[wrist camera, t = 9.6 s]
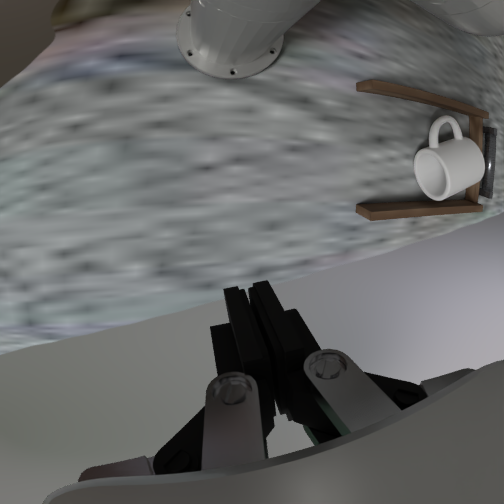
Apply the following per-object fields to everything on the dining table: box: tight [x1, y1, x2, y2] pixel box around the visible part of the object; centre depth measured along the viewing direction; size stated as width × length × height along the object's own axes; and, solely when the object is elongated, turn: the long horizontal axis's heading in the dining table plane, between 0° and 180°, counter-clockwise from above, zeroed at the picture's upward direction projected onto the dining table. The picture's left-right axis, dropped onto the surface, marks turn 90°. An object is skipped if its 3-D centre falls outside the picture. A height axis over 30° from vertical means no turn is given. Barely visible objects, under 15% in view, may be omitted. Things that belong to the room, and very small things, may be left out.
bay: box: [356, 80, 497, 221], centre depth 37 cm, size 18×30×4 cm, turn 93°
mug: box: [414, 115, 485, 201], centre depth 35 cm, size 12×10×8 cm
